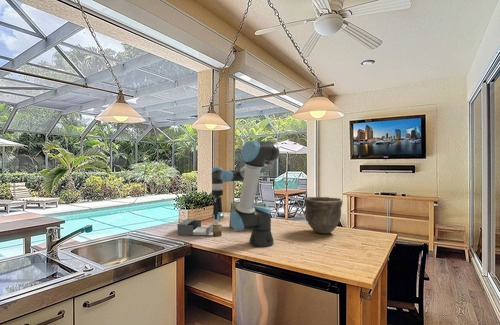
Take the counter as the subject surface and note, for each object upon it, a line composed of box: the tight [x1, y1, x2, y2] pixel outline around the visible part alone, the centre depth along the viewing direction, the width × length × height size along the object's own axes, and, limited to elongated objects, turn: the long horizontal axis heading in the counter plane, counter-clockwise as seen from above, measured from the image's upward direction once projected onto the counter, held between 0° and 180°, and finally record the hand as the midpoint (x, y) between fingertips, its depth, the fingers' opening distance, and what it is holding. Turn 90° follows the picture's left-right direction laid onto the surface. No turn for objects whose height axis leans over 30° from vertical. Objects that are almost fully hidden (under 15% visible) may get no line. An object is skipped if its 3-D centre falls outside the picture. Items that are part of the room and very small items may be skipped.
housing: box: [176, 218, 202, 237], centre depth 198 cm, size 19×13×8 cm
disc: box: [211, 212, 224, 219], centre depth 189 cm, size 8×8×2 cm
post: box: [212, 223, 223, 238], centre depth 190 cm, size 6×6×7 cm
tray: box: [193, 222, 215, 236], centre depth 197 cm, size 17×12×5 cm
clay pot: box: [304, 196, 343, 235], centre depth 197 cm, size 26×26×25 cm
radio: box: [228, 199, 269, 231], centre depth 210 cm, size 30×8×25 cm, turn 73°
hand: (217, 222), depth 189 cm, fingers closed on disc, 8 cm apart
